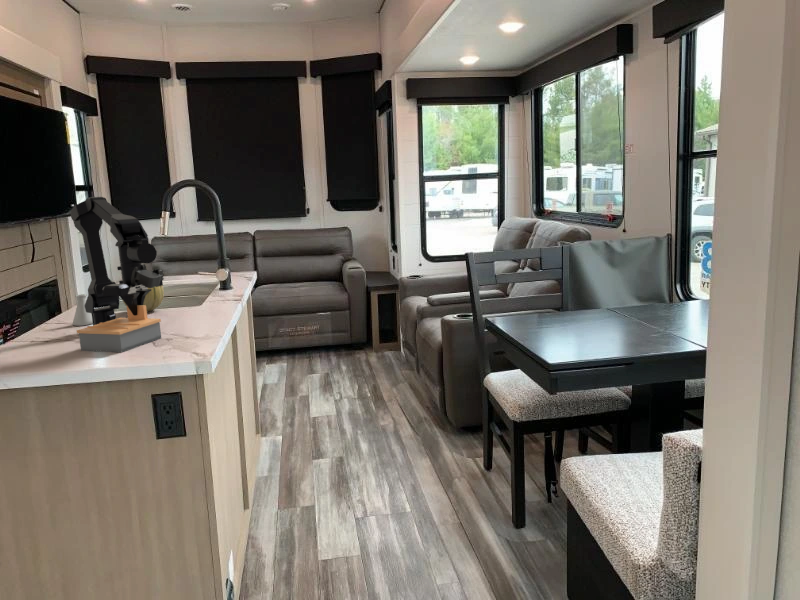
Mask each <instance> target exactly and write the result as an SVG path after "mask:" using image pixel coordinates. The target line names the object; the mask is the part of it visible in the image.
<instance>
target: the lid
mask: <svg viewBox="0 0 800 600" xmlns="http://www.w3.org/2000/svg"><path fill="white" fill-rule="evenodd" d="M126 314H127V317H119V318H118V317H117V318H116V319H114V320H111V321H107V322H104V323H99V324H97V325H93V324H92V325H86V327H83V328H80V329H77V330H76V334H79V333H87V334H117V335H120V334H123V333H126V332H130V331H133V330H136V329H139V328H142V327H145V326H148V325H151V324H154V323H157V322H162V319H161V318H152V317H151V318H149V317H148V312H147V309H146V305H137V315H136V316H134V315H133V314H132V312H131V311H130V309H129V308H128V306H126Z"/></svg>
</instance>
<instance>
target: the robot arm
mask: <svg viewBox="0 0 800 600" xmlns="http://www.w3.org/2000/svg"><path fill="white" fill-rule="evenodd" d="M70 218H71V220H72V221H73V225H74V227H75V229H76V230H77V231H78V232H79V233H80V234H81V236H82V239H83V245H84V250H85V255H86V259H87V264H88V269H89V270H88V271H89V274H90V278H91V279H90V280H91V281H90V283H89V285H88V288H87V296H86V303H85V310H86V312H87V313H91V314H92V321H93V324H92V326H93V325H97V324H99V323H104V322H107V321H111V320H114V319H117V316H116V313H115V310H118V309H120V298H121V301H122V300H123V301H124V302H125V303H126V305H127V306H128V308H129V309H130V311H131V312H132V314H133V315H134V316H136V315H137V305H143V303H144V299H145V296H146V295H147V294H148V293H149V292H150V291H151V290H152V289H148V288H153V287H158V286H163V287H164V282H163V281H164V272H163V270H162V268H155V269H154V270H147V266H146V264H151V263H153V262H154V261H155V260H156V259H157V253H158V251H157V250H156V247H155V246H154V245H153V244H151V243H149V239H150V238H149V237H148V236H149V235H148V233H147V232H146V230H145V228H144V227H143V225H142V223H141V222H140V220H139V219H138V218H136V217H134V216H132V215H129V214H128V215H127V214H125V213H124V214H123V213H122V212H120V210H119V209H117V208H116V207H115V206H113V205H112V204H111V203H110V202H108V200H107V199H106V197H104V196H90V197H87V198H86V199H85V200H84V201H82V202H79V203H77V204H75V205H74V206H73V207H72V208H71V210H70ZM104 222H105V224H107V225H108V226H109V227H110V229H109V231H110V233H111V235H112V236H113V238H115V239H116V240H117V241H116V243H115V247H117V249H118V257H119V266H116V267H117V268H116V269H117V271H120V273H121V280H118V283H116V282H115V281H112V280H111V278H109V275H108V271H107V266H106V260H105V256H104V251H103V246H102V239H101V235H100V231H101V228H102V226H103V223H104ZM123 301H122V302H123ZM124 302H123V303H124ZM126 305H125V306H126ZM127 306H126V307H127Z"/></svg>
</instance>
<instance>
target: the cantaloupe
mask: <svg viewBox="0 0 800 600" xmlns="http://www.w3.org/2000/svg"><path fill="white" fill-rule="evenodd" d="M148 289H152V290H151V291H150V292H149V293H148V294H147V295H146V296H145V299H144V303H143V305H146V309H147V311H149V312H151V311H154V310H155V309H158V307H159V306H161V304H162V302H163V300H164V295H165V291H164V290H165V288H164V285H163V286H158V287H153V288H148ZM121 301H122V303H124V305H125V306H126V307H127V305H126V303H125V302H124V301H123V300H122V299H121Z"/></svg>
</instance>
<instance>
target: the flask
mask: <svg viewBox="0 0 800 600" xmlns="http://www.w3.org/2000/svg"><path fill="white" fill-rule="evenodd" d="M87 297H88V293H87V294H85V293H80V294H77V295H75V298H76V308H75V313H74V317H73V319H72V324H71V325H73V326H78V327H79V326H80V327H81V326H82V327H83V326H90V325H93V321H92V314H91V313H87V312H86V310H85V303H86V300H87Z"/></svg>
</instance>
